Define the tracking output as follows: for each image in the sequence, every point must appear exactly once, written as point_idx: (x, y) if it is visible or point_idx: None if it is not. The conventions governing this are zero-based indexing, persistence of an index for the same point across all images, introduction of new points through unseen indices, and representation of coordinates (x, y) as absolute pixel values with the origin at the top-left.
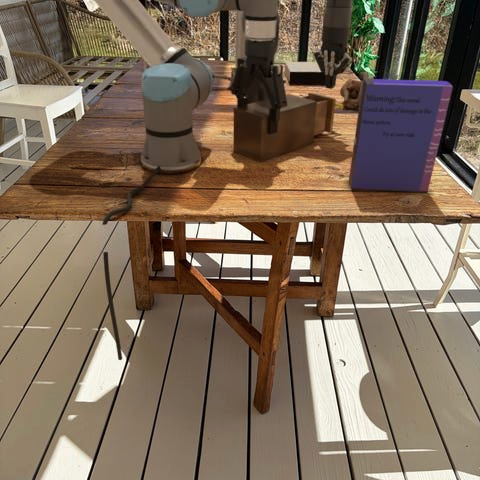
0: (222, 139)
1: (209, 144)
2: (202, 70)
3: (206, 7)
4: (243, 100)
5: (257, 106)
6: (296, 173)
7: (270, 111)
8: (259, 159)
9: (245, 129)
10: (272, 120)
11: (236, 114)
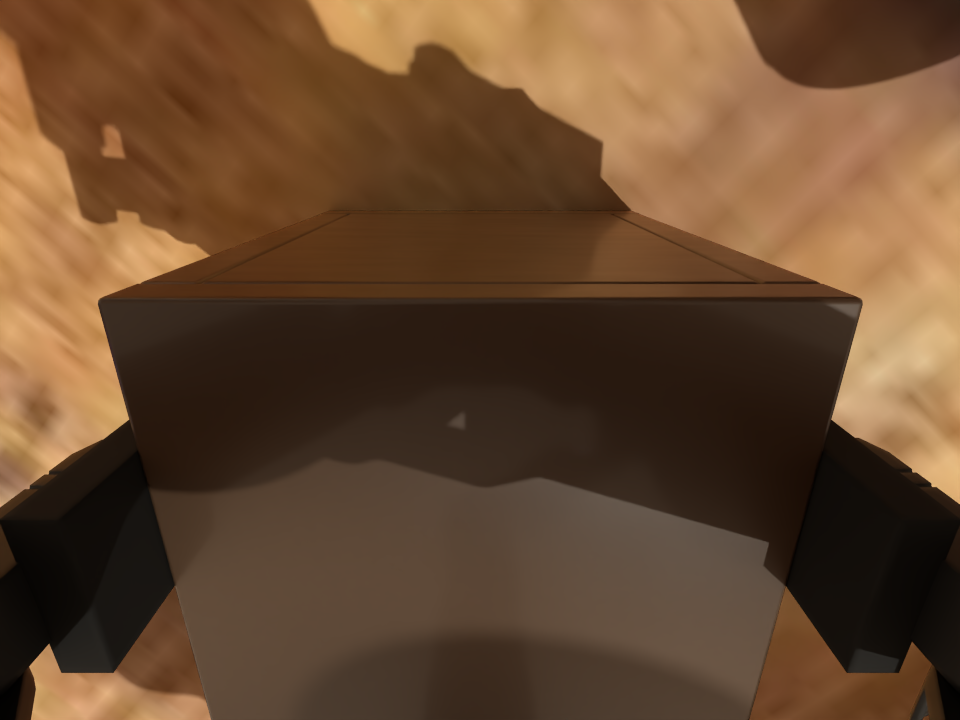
0: (861, 317)
1: (883, 158)
2: None
3: None
4: (861, 572)
5: (592, 607)
6: (14, 249)
7: (53, 489)
8: (335, 211)
9: (506, 242)
10: None
11: (731, 274)
